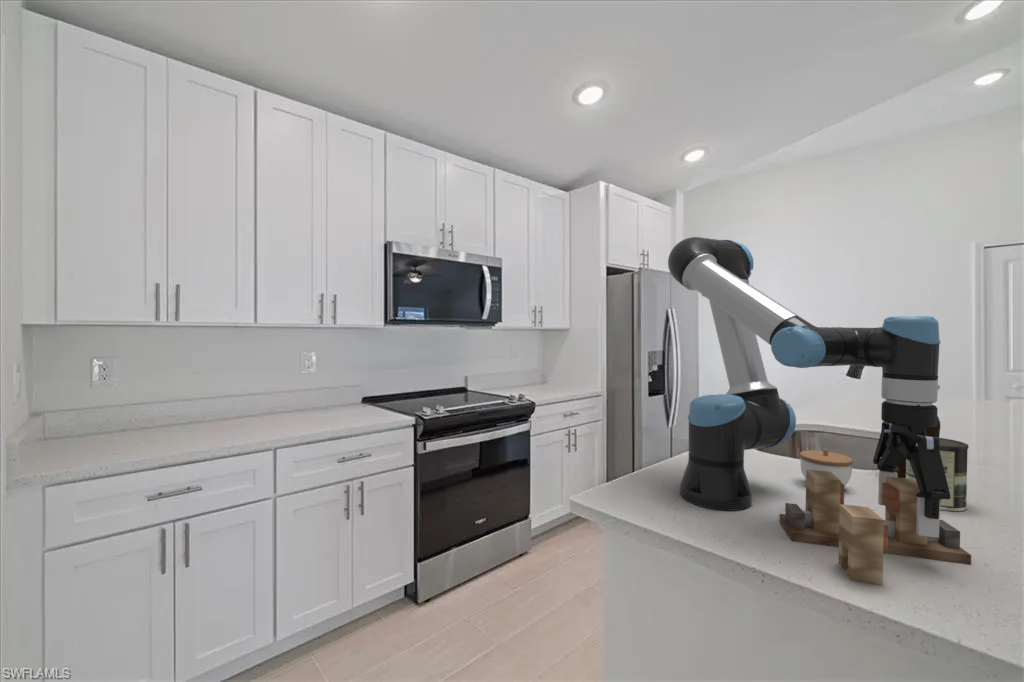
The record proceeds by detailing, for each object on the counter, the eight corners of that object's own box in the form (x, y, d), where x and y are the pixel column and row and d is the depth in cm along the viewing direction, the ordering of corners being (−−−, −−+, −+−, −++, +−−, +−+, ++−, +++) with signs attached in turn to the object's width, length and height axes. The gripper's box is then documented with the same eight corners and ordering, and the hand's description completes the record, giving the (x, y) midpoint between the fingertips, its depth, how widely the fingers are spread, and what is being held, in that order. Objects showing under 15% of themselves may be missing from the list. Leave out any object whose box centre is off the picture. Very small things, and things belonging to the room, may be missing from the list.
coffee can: (944, 496, 105) (945, 436, 105) (980, 513, 95) (982, 447, 95) (893, 492, 107) (895, 434, 107) (923, 509, 97) (925, 445, 97)
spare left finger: (851, 580, 69) (852, 516, 69) (838, 563, 74) (839, 504, 74) (888, 585, 68) (890, 520, 68) (873, 568, 73) (874, 507, 73)
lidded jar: (858, 497, 104) (859, 457, 104) (804, 491, 108) (805, 452, 108) (844, 482, 114) (844, 446, 114) (795, 477, 118) (795, 442, 118)
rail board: (792, 540, 82) (792, 516, 82) (779, 520, 91) (779, 499, 91) (971, 564, 74) (971, 537, 74) (938, 539, 83) (939, 515, 83)
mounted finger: (814, 531, 83) (815, 477, 83) (805, 520, 88) (806, 469, 88) (844, 535, 81) (845, 480, 81) (833, 523, 86) (834, 472, 86)
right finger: (893, 541, 79) (895, 485, 79) (879, 528, 84) (881, 476, 84) (927, 545, 78) (928, 488, 77) (911, 532, 83) (912, 478, 82)
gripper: (983, 416, 67) (979, 555, 68) (898, 393, 91) (896, 497, 91) (922, 412, 69) (918, 547, 70) (854, 392, 93) (852, 493, 94)
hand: (905, 519), depth 81 cm, fingers open, 13 cm apart
